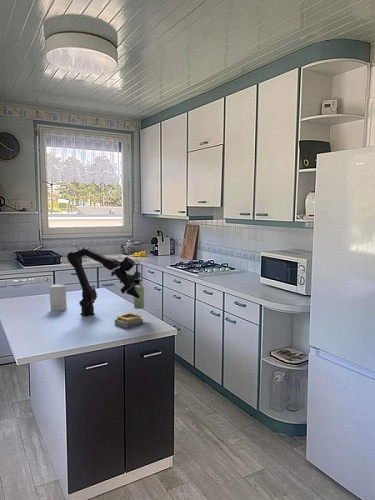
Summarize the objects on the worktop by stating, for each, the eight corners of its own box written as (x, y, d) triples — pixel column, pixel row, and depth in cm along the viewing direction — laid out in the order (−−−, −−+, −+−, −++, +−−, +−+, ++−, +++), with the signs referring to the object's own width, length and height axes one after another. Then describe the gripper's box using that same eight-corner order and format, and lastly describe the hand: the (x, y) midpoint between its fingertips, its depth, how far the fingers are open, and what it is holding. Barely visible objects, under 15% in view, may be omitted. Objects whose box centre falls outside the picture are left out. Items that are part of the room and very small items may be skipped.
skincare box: (67, 308, 246) (66, 284, 245) (62, 311, 240) (61, 286, 238) (54, 307, 247) (53, 284, 245) (49, 310, 241) (48, 286, 239)
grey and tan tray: (127, 329, 205) (127, 320, 205) (114, 324, 213) (114, 316, 212) (143, 324, 214) (143, 316, 213) (130, 320, 221) (130, 312, 220)
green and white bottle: (138, 309, 219) (138, 283, 217) (132, 307, 223) (131, 282, 221) (145, 307, 223) (145, 282, 222) (139, 305, 227) (139, 280, 225)
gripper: (125, 270, 212) (144, 290, 211) (138, 265, 230) (156, 284, 229) (112, 283, 215) (131, 303, 214) (126, 277, 233) (143, 296, 232)
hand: (141, 296), depth 222 cm, fingers closed on green and white bottle, 6 cm apart
